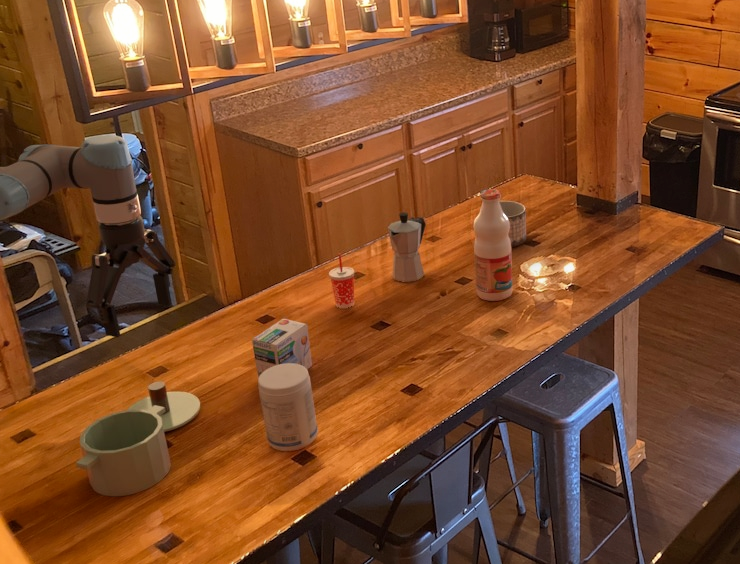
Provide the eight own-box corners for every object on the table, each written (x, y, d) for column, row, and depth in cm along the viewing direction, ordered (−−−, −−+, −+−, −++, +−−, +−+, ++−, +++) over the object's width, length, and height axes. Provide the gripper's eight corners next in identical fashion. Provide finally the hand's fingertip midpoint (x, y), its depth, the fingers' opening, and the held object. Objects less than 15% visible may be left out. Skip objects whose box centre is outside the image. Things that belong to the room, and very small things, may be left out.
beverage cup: (327, 304, 239) (321, 254, 234) (348, 296, 244) (342, 246, 238) (342, 312, 236) (336, 261, 230) (362, 303, 240) (357, 253, 234)
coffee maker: (408, 288, 248) (402, 224, 241) (380, 281, 251) (374, 219, 244) (440, 266, 260) (436, 205, 253) (413, 260, 264) (409, 200, 256)
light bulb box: (282, 389, 204) (275, 345, 199) (257, 382, 206) (250, 339, 201) (313, 365, 213) (308, 322, 208) (289, 359, 215) (283, 317, 211)
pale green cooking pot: (61, 496, 171) (49, 452, 167) (139, 437, 187) (130, 396, 184) (122, 512, 167) (111, 468, 163) (196, 451, 183) (188, 409, 180)
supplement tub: (297, 419, 193) (288, 356, 187) (328, 435, 188) (320, 371, 182) (257, 442, 186) (246, 378, 180) (288, 459, 181) (278, 394, 175)
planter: (531, 235, 280) (531, 203, 276) (518, 253, 269) (517, 219, 264) (491, 231, 283) (489, 199, 278) (476, 248, 271) (474, 214, 267)
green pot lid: (106, 428, 190) (99, 397, 187) (159, 390, 203) (153, 361, 200) (166, 442, 186) (159, 411, 183) (216, 403, 198) (210, 373, 195)
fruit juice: (484, 283, 251) (479, 184, 240) (518, 288, 249) (514, 187, 237) (470, 299, 243) (465, 196, 231) (505, 304, 240) (501, 200, 229)
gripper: (82, 247, 165) (105, 353, 173) (183, 198, 186) (199, 295, 195) (48, 241, 167) (73, 346, 176) (152, 193, 189) (170, 289, 197)
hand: (140, 319), depth 185 cm, fingers open, 13 cm apart
